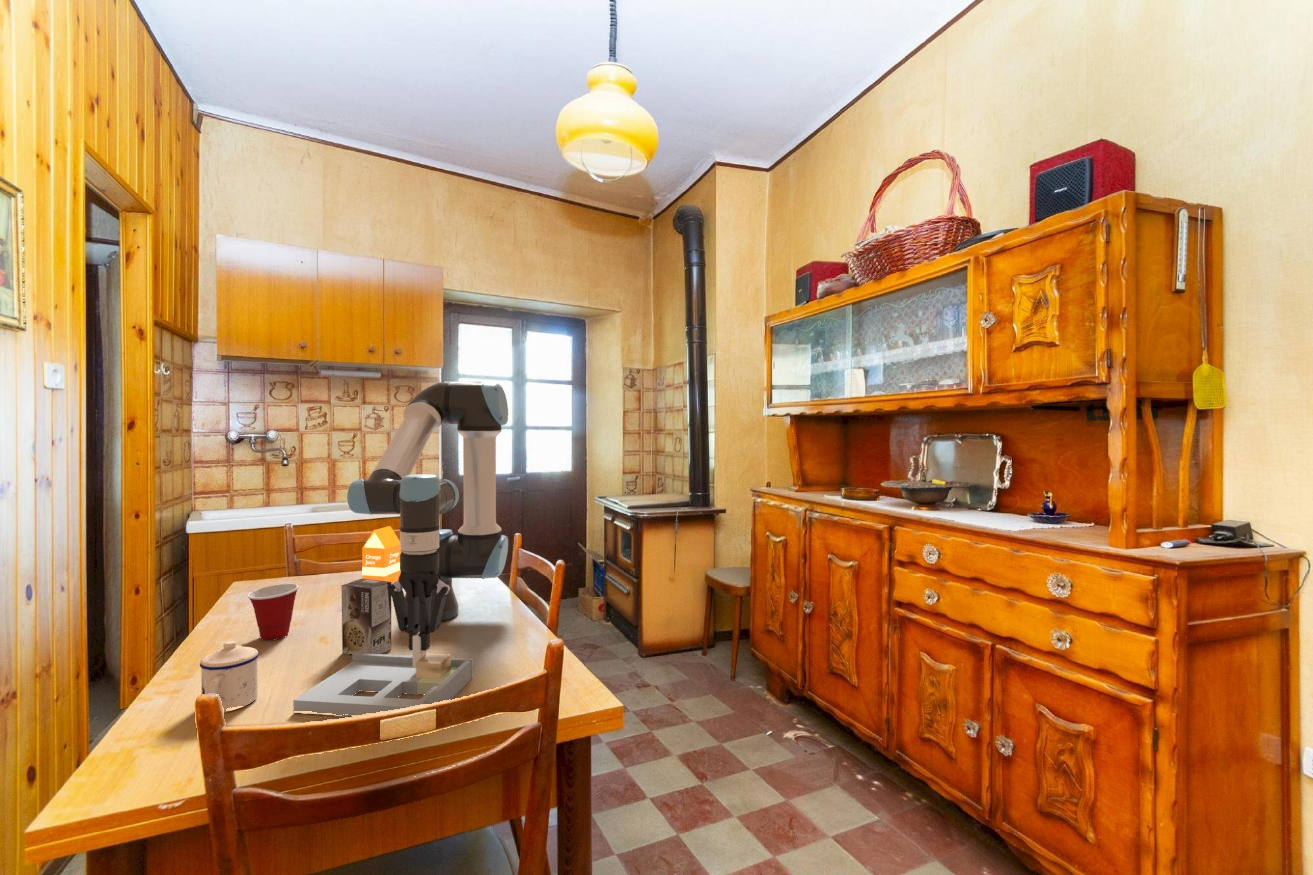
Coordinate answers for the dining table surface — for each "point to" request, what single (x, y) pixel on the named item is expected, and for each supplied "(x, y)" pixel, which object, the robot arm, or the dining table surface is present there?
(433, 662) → the block
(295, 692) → the dining table surface
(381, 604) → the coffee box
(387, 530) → the orange juice
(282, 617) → the plastic cup
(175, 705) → the dining table surface
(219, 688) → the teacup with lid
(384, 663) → the grey compartment tray
